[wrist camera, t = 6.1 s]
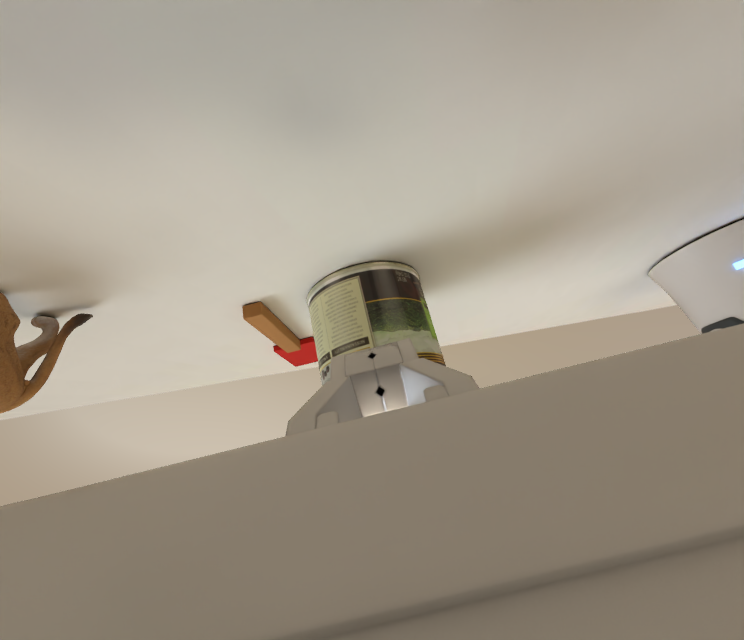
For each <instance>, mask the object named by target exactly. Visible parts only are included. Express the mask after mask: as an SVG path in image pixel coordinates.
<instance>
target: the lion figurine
mask: <svg viewBox="0 0 744 640" xmlns="http://www.w3.org/2000/svg"><path fill="white" fill-rule="evenodd" d="M91 317H93V315H91V314H77V315H76V316H74V317H72V318H71V319H70V320H69V321H68V322H67V323H66V324H65V325H64V326H63V328H62V329H61V331H60V332H59V334H58V331H59V323H58V321H57V320H56V319H54V318H51V317H46V316H37V317H34V318H33V319H32V320H31V324H32V325H33V326H35V327H38V328H41V329H42V330H43V332H42V334H41V335H40V336H39V337H38V338H36V339H35V340H33V341H31V342H29V343H27V344H24V345H21V346H19V347H15V343H14V334H15V331H16V330H17V328H18V326H19V324H20V319H19V318H18V316H17V315H16V313H15V312H14V310H13V309H12V307H11V306H10V304H9V302H8V300H7V298H6V296H5V295H4V294H2V293H1V292H0V413H3V412H6V411H9V410H12V409H14V408H16V407H18V406H20V405H22V404H23V403H25V402H27V401H28V400H29V399H31V398H32V397H33V396H34V395H35V394H36V393H37V392H38V391H39V390H40V389H41V387H42V386H43V385H44V384H45V382H46V381H47V379H48V377H49V375H50V373H51V372H52V370H53V368H54V366H55V363H56V361H57V359H58V356H59V354H60V352H61V350H62V347H63V345H64V342H65V340H66V338H67V337H68V335H69V334H70V333H71V332H72V331H73V330H74V329H75V328H76V327H78V326H80V325H82V324H83V323H85V322H86V321H87V320H89V319H90V318H91ZM57 334H58V335H57ZM46 353H47V355H46V356H45V358H44V360H43V362H42V363H41V365H40V366H39V368H38V370H37V371H36V373H35V375H34V376H33V378H32V379H31V380H30V381H28V380H25V379H24V378H25V376H26V373H27V371H28V369H29V368H30V367H31V366H32V365H33V363H34V362H35V361H36V360H37V359H38V358H39V357H41V356H42V355H44V354H46Z"/></svg>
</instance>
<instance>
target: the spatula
mask: <svg viewBox="0 0 744 640" xmlns="http://www.w3.org/2000/svg"><path fill="white" fill-rule="evenodd" d="M242 308H243V318H244V320H246V321H247V322H248V323H249V324H251V325H252V326H253V327H255V328H256V329H257V330H258V331H260V332H261V333H262V334H264V335H265V336H266V337H268V338H269V339H270V340H271V341H273V342H274V343H275V344H277V346H274V352H276V353H277V354H279V355H280V356H281V357H283V358H284V359H286V360H287V361H288V362H290V363H291V364H293V365H294V366H295V367H296V366H300V365H304V364H308V363H312V362H316V361H318V358H317V352H316V346H315V340H314V338H313V337H309V338H305V339H301V340H299V339H298V338H297V337H296V336H295V335H294V334H293V333H292V332H291V331H290V330H289V329H288V328H287V327H286V326H285V325H284V324H283V323H282V322H281V321H280V320H279V319H278V318H277V317H276V316H275V315H274V314H273V313H272V312H271V311H270V310H269V309H268V308H267V307H266V306H265V305H264V304H263V303H262V302H257V303H253V304H249V305H245V306H243V307H242Z"/></svg>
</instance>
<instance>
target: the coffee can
mask: <svg viewBox="0 0 744 640" xmlns="http://www.w3.org/2000/svg"><path fill="white" fill-rule="evenodd" d="M307 305H308V308H309V312H310V317H311V323H312V329H313V334H314V340H315V346H316V352H317V358H318V363H319V370H320V375H321V381H322V386H323V385H324V384H325V383H326V382H327V381H330V370H331V358H332V357H335V356H339V355H342V354H348V353H352V352H356V351H361V350H365V349H369V348H374V347H377V346H381V345H385V344H388V343H392V342H397V341H400V340H403V339H407V338H410V339H411V341H412V343H413V346H414V348H415V350H416V353H417V355H418V357H419V358H425V359H427V360H430V361H433V362H435V363H438V364H441V365H443V366H446V365H445V362H444V359H443V355H442V352H441V349H440V346H439V343H438V340H437V336H436V333H435V330H434V327H433V324H432V320H431V317H430V314H429V311H428V307H427V304H426V301H425V298H424V295H423V291H422V288H421V285H420V280H419V275H418V273H417V272H416V271H415V270H414V269H413V268H412V267H410V266H408V265H405V264H402V263H396V262H385V261H380V262H370V263H364V264H359V265H355V266H351V267H348V268H345V269H342V270H339V271H337V272H335V273H333V274H331V275H329V276H327V277H326V278H324V279H323V280H321V281H320V282H318V283H317V284H316V285H315V286H314V287H313V288H312V289H311V291H310V292H309V294H308V296H307Z"/></svg>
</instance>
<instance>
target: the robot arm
mask: <svg viewBox="0 0 744 640" xmlns="http://www.w3.org/2000/svg"><path fill="white" fill-rule="evenodd" d="M648 276H649V277H650V278H651V279H653V280H654V281H655V282H656V283H657V284H658V285H659V286H660V287H661V288H662V289H663V290H664V291H665V292H666V293H667V294H668V295H669V296H670V297H671V298H672V299H673V300H674V302H675V303H676V304H677V305H678V306H679V307H680V309H681V310H682V311H683V312H684V313H685V315H686V316H687V317H688V318H689V320H690V321H691V322H692V323H693V324H694V325H695V327H696V328H697V329H698V330H699V332H700V333H701V334H699V335H696V336H691V337H687V338H683V339H679V340H675V341H671V342H667V343H663V344H659V345H654V346H650V347H646V348H642V349H638V350H634V351H630V352H626V353H622V354H618V355H614V356H610V357H606V358H602V359H598V360H594V361H590V362H586V363H582V364H577V365H573V366H570V367H565V368H561V369H557V370H553V371H549V372H545V373H541V374H537V375H533V376H529V377H525V378H521V379H517V380H513V381H509V382H505V383H500V384H496V385H492V386H488V387H484V388H479V387H478V385H477V384H476V382H475V381H474V379H473V378H472V376H470V375H467V374H464V373H462V372H459V371H457V370H454V369H451V368H449V367H446V366H443V365H441V364H438V363H435V362H433V361H430V360H427V359H425V358H419V357H418V355H417V353H416V350H415V348H414V346H413V343H412V341H411V339H410V338H407V339H403V340H400V341H397V342H392V343H388V344H385V345H381V346H377V347H374V348H369V349H365V350H361V351H356V352H352V353H348V354H342V355H339V356H335V357H332V358H331V370H330V381H327V382H326V383H325V384H324V385H323V386H322V387H321V388H320V389H319V390H318V391H317V392H316V393H315V394H314V395H313V396H312V397H311V398H310V399H309V400H308V402H306V403H305V404H304V405H303V407H301V409H300V410H299V411H298V412H297V413H296V414H295V415H294V416H293V417H292V418H291V419H290V420H289V421H288V425H287V431H286V436H285V437H282V438H277V439H274V440H269V441H265V442H261V443H257V444H253V445H249V446H245V447H241V448H237V449H233V450H229V451H225V452H220V453H216V454H213V455H208V456H204V457H200V458H196V459H192V460H188V461H184V462H180V463H176V464H172V465H168V466H164V467H160V468H156V469H152V470H148V471H144V472H140V473H135V474H132V475H127V476H123V477H119V478H115V479H111V480H107V481H103V482H99V483H95V484H91V485H87V486H83V487H79V488H75V489H71V490H67V491H62V492H59V493H55V494H50V495H46V496H42V497H38V498H34V499H30V500H25V501H21V502H17V503H12V504H7V505H4V506H0V640H744V219H743V220H741V221H738V222H736V223H734V224H731V225H729V226H727V227H724V228H722V229H720V230H718V231H715V232H713V233H711V234H709V235H707V236H705V237H703V238H701V239H699V240H697V241H695V242H693V243H691V244H689V245H687V246H685V247H684V248H682V249H680V250H678V251H676V252H675V253H673V254H671V255H670V256H668V257H667V258H665V259H664V260H662V261H661V262H659V263H658V264H657V265H656V266H654V267H653V268H652V269H651V270H650V272H649V273H648Z"/></svg>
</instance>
